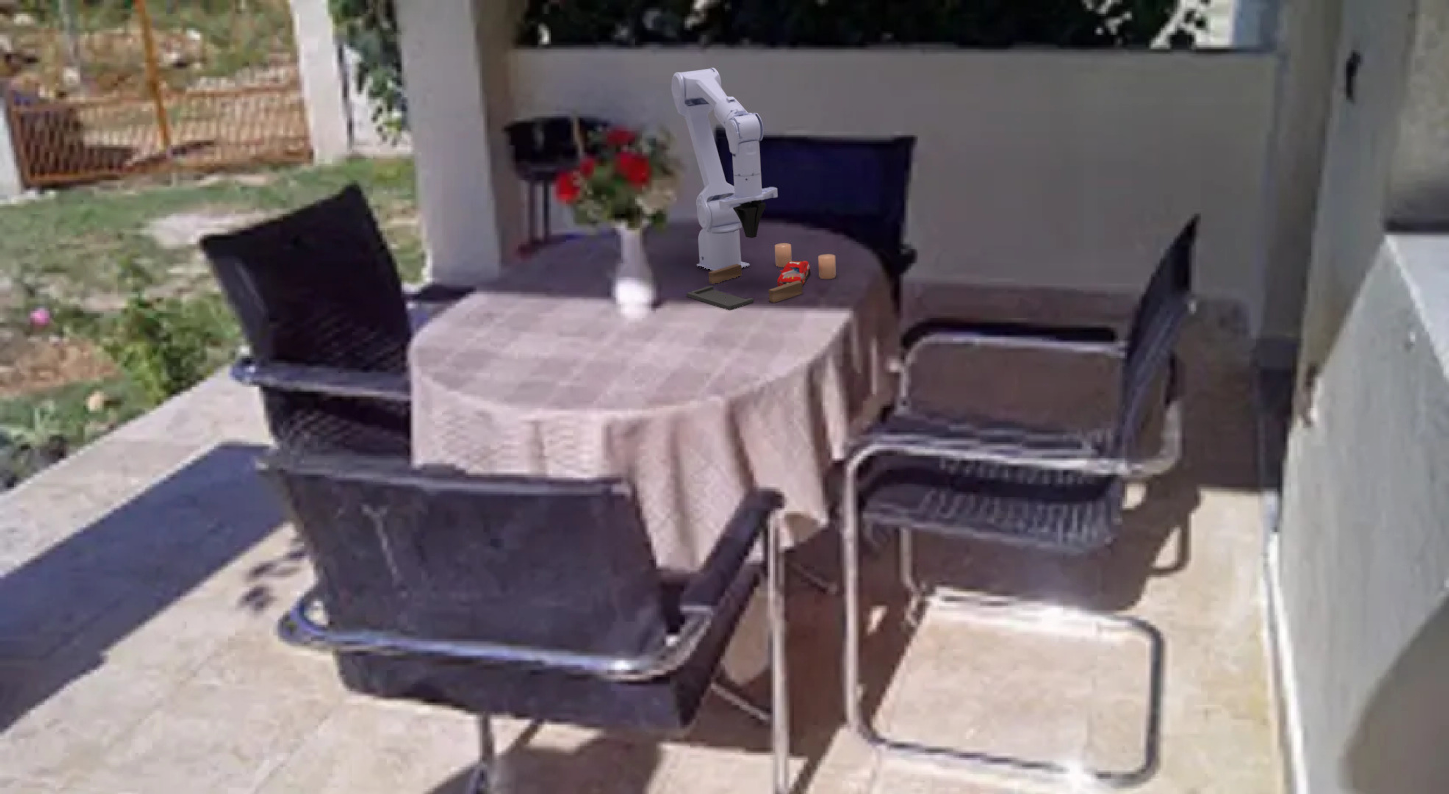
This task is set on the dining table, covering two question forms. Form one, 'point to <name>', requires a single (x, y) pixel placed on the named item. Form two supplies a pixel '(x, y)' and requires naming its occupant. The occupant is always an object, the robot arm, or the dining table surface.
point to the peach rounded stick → (782, 254)
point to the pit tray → (718, 298)
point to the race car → (794, 272)
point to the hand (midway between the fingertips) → (751, 236)
